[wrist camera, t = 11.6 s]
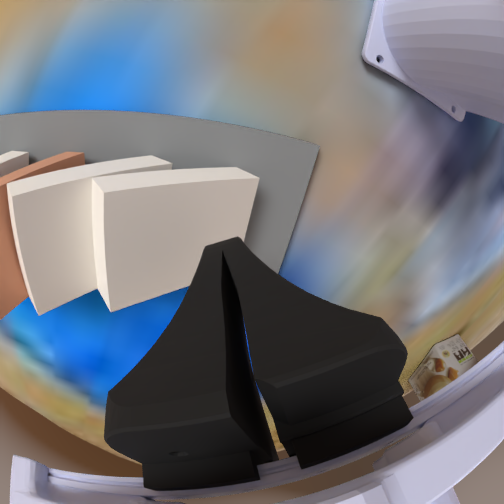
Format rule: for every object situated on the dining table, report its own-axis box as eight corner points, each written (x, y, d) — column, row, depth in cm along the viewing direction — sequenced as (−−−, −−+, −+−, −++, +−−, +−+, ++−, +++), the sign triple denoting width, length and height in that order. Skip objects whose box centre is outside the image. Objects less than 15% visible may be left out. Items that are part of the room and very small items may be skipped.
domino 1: (84, 152, 10) (-51, 214, 5) (97, 247, 13) (-6, 324, 7) (66, 151, 11) (-55, 207, 5) (79, 239, 13) (-17, 309, 8)
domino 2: (172, 163, 11) (11, 196, 6) (162, 259, 14) (38, 315, 8) (151, 155, 12) (6, 183, 7) (144, 246, 14) (28, 293, 9)
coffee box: (432, 344, 31) (488, 431, 17) (458, 332, 32) (511, 409, 19) (406, 380, 36) (448, 458, 22) (432, 368, 37) (474, 438, 23)
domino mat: (315, 143, 14) (319, 145, 13) (271, 281, 18) (273, 286, 18) (-40, 122, 7) (-45, 124, 7) (-26, 248, 12) (-30, 252, 11)
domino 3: (259, 177, 12) (103, 192, 7) (236, 268, 15) (110, 312, 10) (236, 167, 13) (91, 177, 8) (218, 253, 16) (97, 288, 11)
